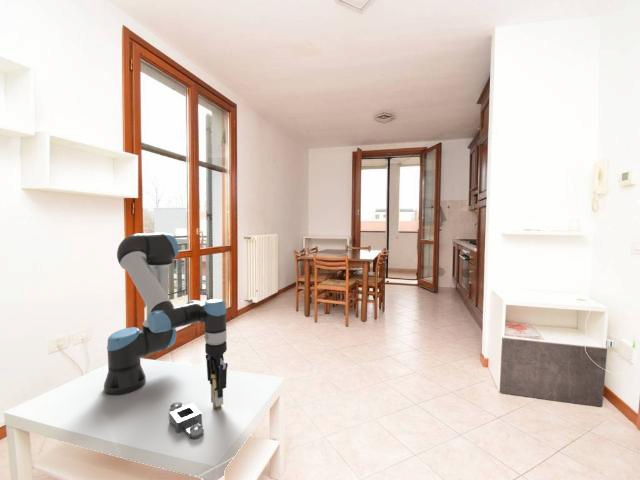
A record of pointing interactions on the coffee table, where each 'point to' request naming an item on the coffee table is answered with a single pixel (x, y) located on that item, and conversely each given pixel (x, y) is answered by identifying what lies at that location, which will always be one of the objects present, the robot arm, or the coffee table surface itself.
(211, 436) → the coffee table surface
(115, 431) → the coffee table surface
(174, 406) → the chain ends
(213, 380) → the pin
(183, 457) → the coffee table surface
